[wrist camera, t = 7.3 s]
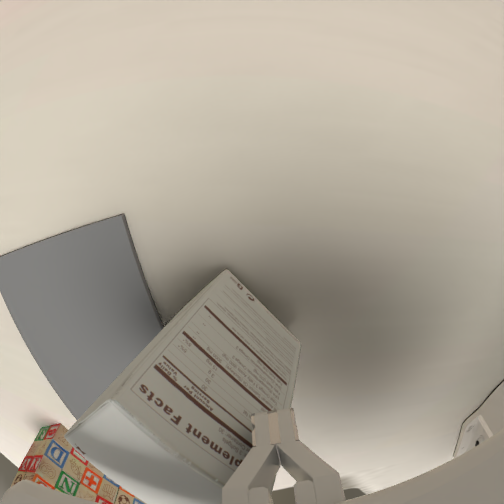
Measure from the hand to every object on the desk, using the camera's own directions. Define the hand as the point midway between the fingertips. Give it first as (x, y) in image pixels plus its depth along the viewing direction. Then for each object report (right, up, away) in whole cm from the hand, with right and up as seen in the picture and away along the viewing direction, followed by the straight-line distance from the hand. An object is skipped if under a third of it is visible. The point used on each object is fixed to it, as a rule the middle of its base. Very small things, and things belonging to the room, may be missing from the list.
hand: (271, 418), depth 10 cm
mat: (-15, -2, +12) cm, 19 cm away
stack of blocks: (-23, -25, +20) cm, 39 cm away
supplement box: (-2, +1, +10) cm, 11 cm away
